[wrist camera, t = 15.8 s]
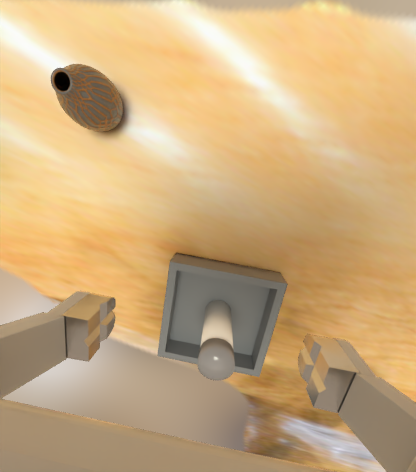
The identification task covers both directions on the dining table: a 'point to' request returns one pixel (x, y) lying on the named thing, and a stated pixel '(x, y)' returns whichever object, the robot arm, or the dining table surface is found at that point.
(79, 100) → the vase
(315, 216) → the dining table surface
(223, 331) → the shaker
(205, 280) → the tray
